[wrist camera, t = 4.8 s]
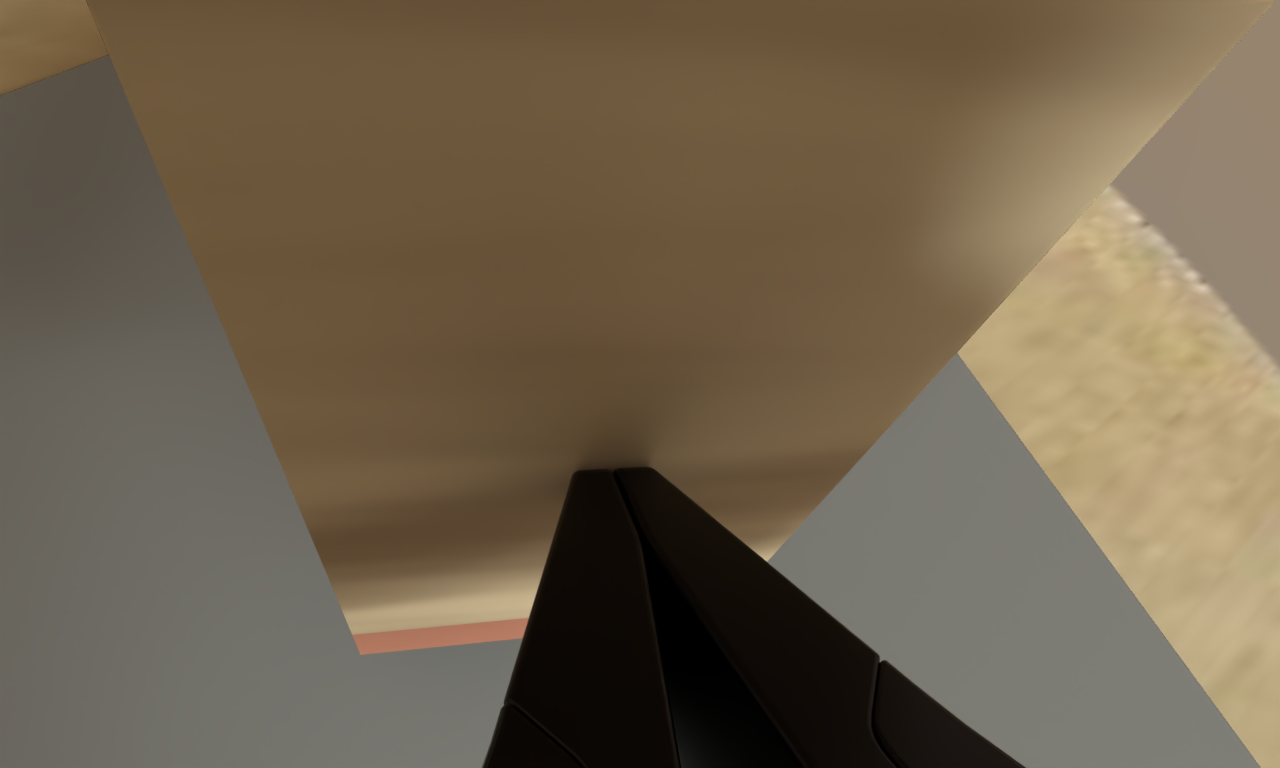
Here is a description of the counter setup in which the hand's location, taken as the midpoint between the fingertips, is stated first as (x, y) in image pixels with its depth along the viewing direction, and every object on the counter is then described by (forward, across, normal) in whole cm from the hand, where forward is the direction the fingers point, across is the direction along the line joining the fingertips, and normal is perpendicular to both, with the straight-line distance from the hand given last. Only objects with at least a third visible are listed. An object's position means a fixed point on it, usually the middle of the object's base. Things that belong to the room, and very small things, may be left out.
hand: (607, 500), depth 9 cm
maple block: (+6, 0, +4) cm, 7 cm away
